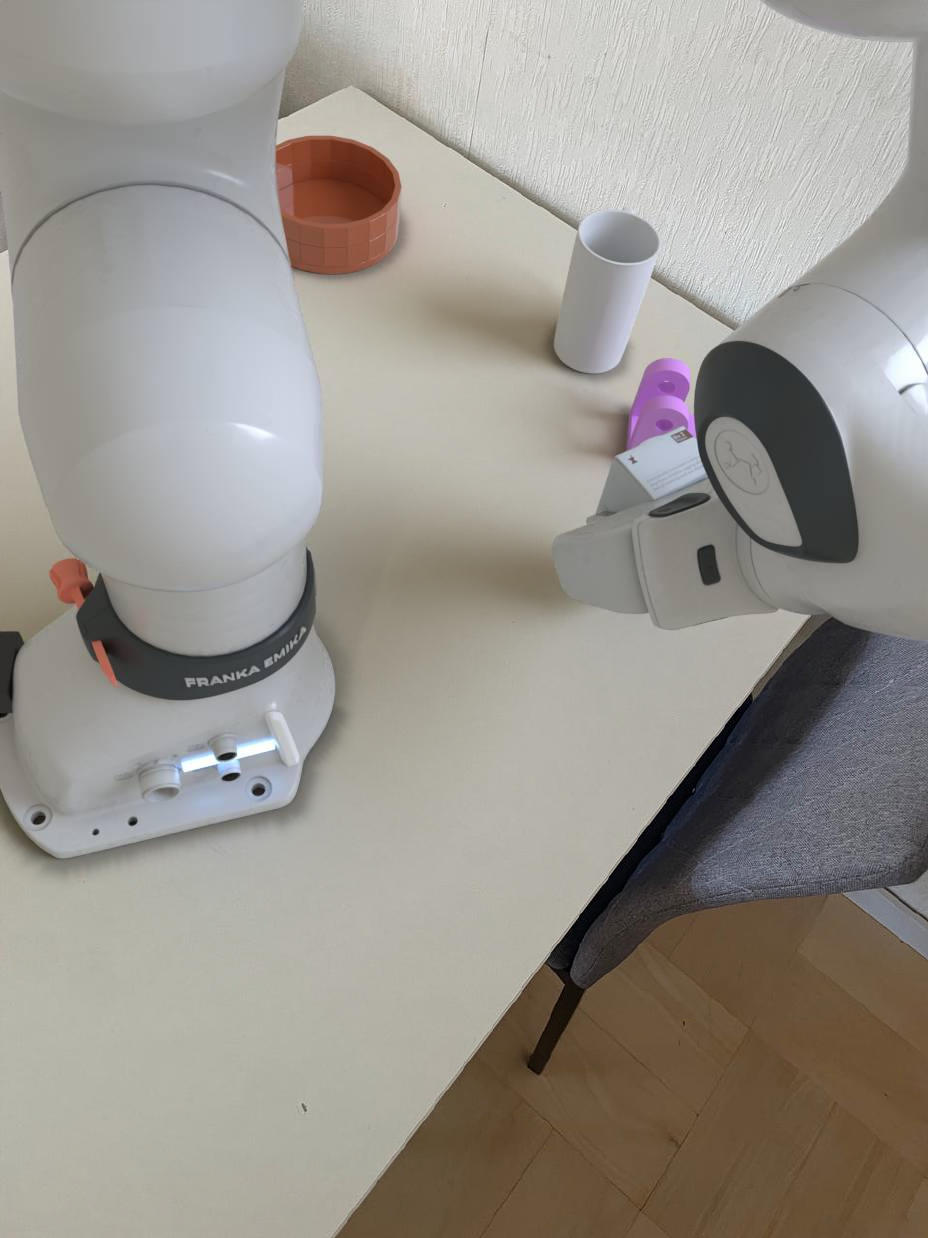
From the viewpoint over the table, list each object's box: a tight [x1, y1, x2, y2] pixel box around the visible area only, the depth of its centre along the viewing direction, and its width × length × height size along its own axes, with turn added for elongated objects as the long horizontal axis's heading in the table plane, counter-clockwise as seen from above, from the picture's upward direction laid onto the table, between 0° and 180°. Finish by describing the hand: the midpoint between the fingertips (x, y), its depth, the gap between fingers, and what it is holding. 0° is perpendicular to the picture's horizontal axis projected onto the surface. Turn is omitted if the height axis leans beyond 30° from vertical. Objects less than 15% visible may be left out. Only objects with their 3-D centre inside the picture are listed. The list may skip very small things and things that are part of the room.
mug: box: [553, 206, 662, 375], centre depth 87 cm, size 10×7×12 cm, turn 164°
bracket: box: [625, 357, 697, 451], centre depth 83 cm, size 13×6×7 cm, turn 82°
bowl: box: [276, 135, 403, 275], centre depth 94 cm, size 13×13×5 cm
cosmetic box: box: [594, 426, 708, 515], centre depth 70 cm, size 6×4×12 cm
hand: (641, 508), depth 70 cm, fingers closed on cosmetic box, 6 cm apart
